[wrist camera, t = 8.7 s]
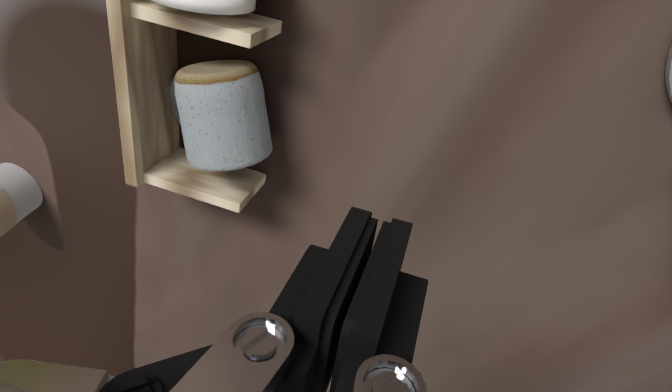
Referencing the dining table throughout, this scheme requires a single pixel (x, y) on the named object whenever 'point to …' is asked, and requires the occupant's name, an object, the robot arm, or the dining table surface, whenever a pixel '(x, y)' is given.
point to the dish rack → (155, 100)
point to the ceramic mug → (222, 114)
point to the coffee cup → (16, 195)
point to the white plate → (212, 6)
